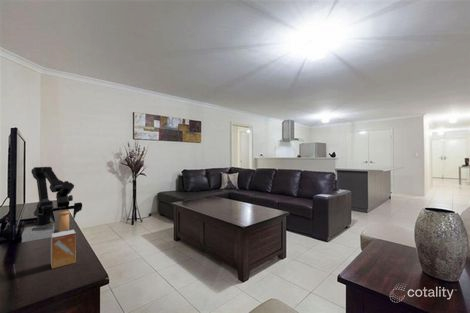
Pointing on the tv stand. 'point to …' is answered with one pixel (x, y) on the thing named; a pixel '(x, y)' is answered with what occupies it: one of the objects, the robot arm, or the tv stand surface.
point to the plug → (63, 221)
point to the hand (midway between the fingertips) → (64, 220)
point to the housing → (37, 232)
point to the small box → (63, 248)
